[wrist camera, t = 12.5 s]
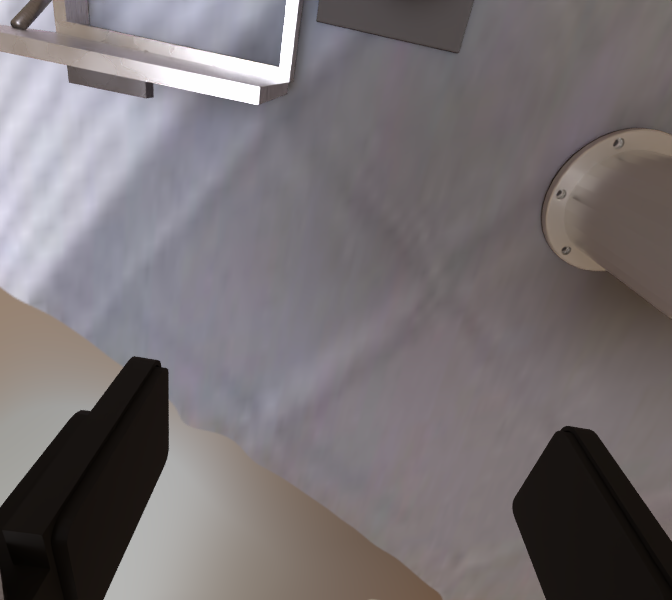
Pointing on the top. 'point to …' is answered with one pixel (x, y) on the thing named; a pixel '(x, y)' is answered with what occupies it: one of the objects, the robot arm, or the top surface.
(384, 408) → the top surface
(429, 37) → the mat
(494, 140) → the top surface
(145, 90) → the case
